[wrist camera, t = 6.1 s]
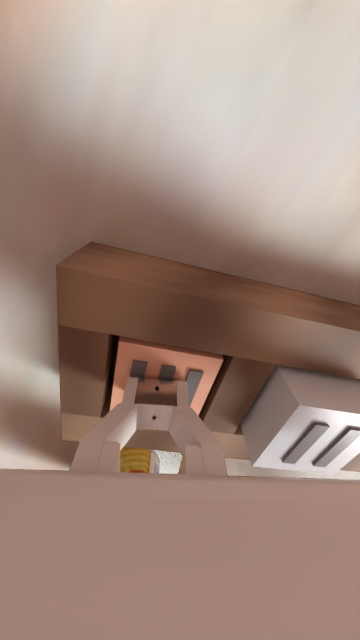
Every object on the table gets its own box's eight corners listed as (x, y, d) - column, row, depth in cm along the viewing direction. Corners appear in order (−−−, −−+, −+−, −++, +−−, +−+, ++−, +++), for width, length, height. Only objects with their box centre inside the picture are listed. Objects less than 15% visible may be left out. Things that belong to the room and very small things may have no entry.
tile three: (214, 328, 13) (224, 362, 11) (191, 386, 16) (195, 425, 13) (129, 311, 12) (118, 343, 10) (119, 375, 15) (108, 414, 12)
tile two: (354, 375, 13) (400, 423, 10) (307, 428, 15) (335, 477, 12) (273, 360, 12) (301, 408, 9) (238, 419, 14) (252, 469, 12)
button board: (479, 334, 15) (567, 376, 12) (373, 429, 21) (413, 477, 17) (90, 242, 12) (56, 265, 8) (84, 388, 17) (61, 439, 14)
